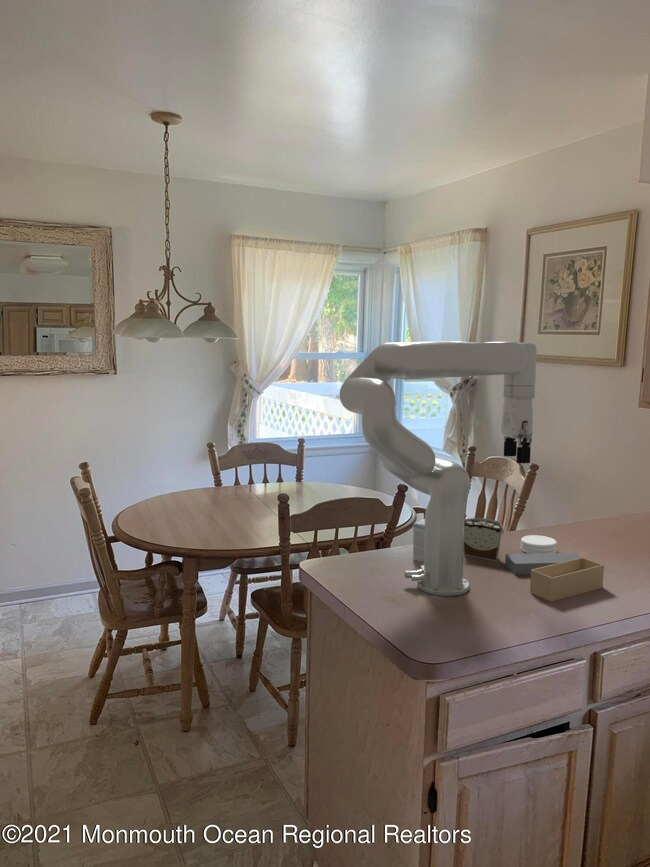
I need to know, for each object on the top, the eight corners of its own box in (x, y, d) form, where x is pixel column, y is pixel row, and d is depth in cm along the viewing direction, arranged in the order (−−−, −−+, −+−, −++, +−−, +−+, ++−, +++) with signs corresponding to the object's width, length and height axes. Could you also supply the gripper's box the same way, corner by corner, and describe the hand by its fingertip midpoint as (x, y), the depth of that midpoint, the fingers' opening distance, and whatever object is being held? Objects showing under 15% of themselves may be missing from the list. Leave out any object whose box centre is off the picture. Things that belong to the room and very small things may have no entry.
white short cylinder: (513, 548, 186) (513, 537, 185) (539, 544, 190) (539, 532, 190) (537, 559, 177) (538, 546, 176) (564, 554, 181) (565, 542, 181)
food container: (508, 555, 179) (509, 521, 178) (501, 562, 174) (503, 526, 172) (466, 548, 186) (467, 515, 184) (459, 554, 180) (460, 520, 179)
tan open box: (550, 602, 147) (552, 578, 146) (529, 593, 153) (530, 569, 152) (602, 588, 156) (604, 565, 155) (581, 580, 161) (582, 557, 160)
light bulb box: (431, 550, 184) (432, 514, 183) (452, 554, 180) (452, 518, 178) (411, 559, 176) (412, 522, 175) (433, 565, 172) (433, 526, 170)
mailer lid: (514, 574, 164) (515, 563, 164) (505, 564, 172) (505, 554, 171) (586, 573, 165) (587, 562, 165) (574, 563, 172) (574, 552, 172)
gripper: (493, 389, 167) (491, 453, 169) (516, 395, 150) (513, 466, 152) (521, 389, 167) (519, 453, 169) (547, 394, 150) (544, 465, 152)
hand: (516, 459), depth 161 cm, fingers open, 9 cm apart
